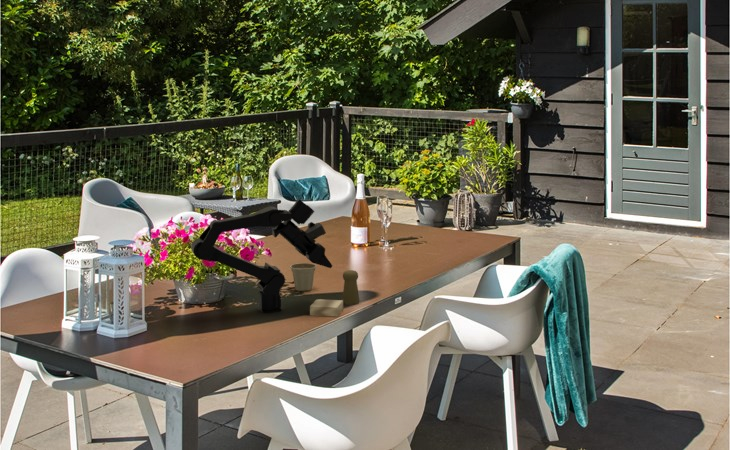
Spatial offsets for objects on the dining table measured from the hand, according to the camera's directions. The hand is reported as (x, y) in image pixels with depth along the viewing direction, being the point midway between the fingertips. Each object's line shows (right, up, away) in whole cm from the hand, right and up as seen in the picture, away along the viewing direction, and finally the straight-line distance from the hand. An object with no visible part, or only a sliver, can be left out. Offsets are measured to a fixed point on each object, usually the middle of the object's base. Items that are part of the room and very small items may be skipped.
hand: (327, 264), depth 319 cm
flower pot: (-9, -10, +23) cm, 27 cm away
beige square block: (0, -15, -7) cm, 17 cm away
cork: (+8, -13, +5) cm, 16 cm away
